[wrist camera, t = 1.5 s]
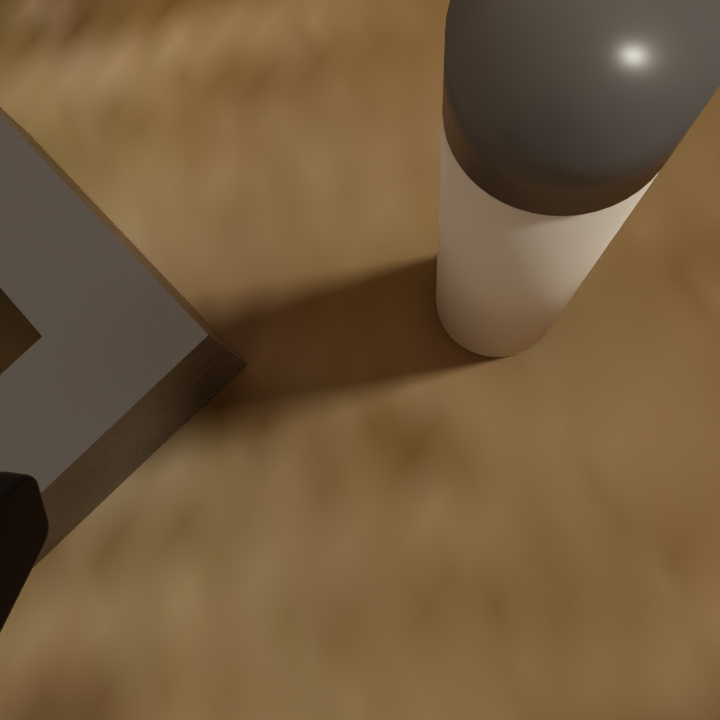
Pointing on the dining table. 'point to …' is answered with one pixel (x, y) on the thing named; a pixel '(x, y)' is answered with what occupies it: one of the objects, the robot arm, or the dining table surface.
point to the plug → (554, 147)
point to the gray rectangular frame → (89, 342)
